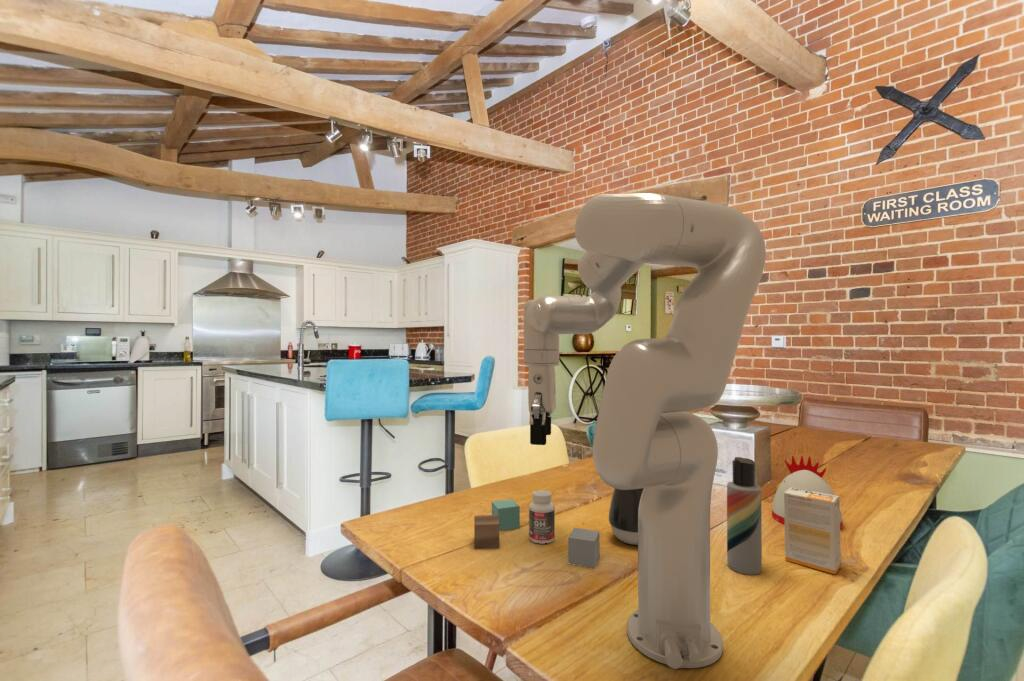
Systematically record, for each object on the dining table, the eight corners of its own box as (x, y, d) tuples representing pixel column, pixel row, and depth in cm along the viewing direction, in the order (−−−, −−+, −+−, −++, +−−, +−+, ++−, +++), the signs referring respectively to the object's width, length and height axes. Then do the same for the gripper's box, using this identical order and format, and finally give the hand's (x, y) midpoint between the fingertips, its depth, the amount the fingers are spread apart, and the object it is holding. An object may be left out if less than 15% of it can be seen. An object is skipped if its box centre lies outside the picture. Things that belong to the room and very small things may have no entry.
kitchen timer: (773, 506, 119) (773, 447, 119) (839, 516, 112) (839, 453, 112) (770, 525, 107) (770, 458, 107) (845, 537, 100) (844, 467, 100)
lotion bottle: (731, 557, 91) (731, 453, 91) (764, 566, 87) (764, 458, 87) (723, 568, 86) (722, 459, 86) (757, 578, 83) (757, 464, 83)
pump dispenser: (624, 553, 93) (624, 476, 93) (600, 533, 103) (600, 463, 103) (669, 547, 95) (669, 472, 95) (642, 528, 105) (642, 459, 105)
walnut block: (499, 548, 95) (499, 523, 95) (474, 549, 95) (474, 524, 95) (498, 538, 100) (498, 514, 100) (474, 539, 100) (474, 515, 100)
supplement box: (841, 566, 87) (841, 495, 87) (835, 575, 84) (835, 501, 84) (791, 552, 93) (791, 485, 93) (783, 560, 90) (783, 491, 90)
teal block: (519, 528, 105) (519, 506, 105) (498, 531, 104) (498, 508, 104) (512, 520, 110) (512, 499, 110) (491, 523, 108) (491, 501, 109)
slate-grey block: (594, 568, 87) (594, 541, 87) (568, 564, 88) (568, 537, 88) (599, 557, 91) (599, 531, 91) (574, 553, 93) (574, 527, 93)
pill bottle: (534, 546, 96) (534, 498, 96) (525, 535, 101) (525, 490, 101) (558, 542, 98) (558, 495, 98) (549, 532, 103) (549, 487, 103)
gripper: (555, 360, 90) (555, 449, 91) (562, 356, 107) (562, 432, 108) (516, 360, 92) (516, 448, 92) (529, 356, 109) (529, 430, 109)
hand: (541, 439), depth 100 cm, fingers open, 9 cm apart
